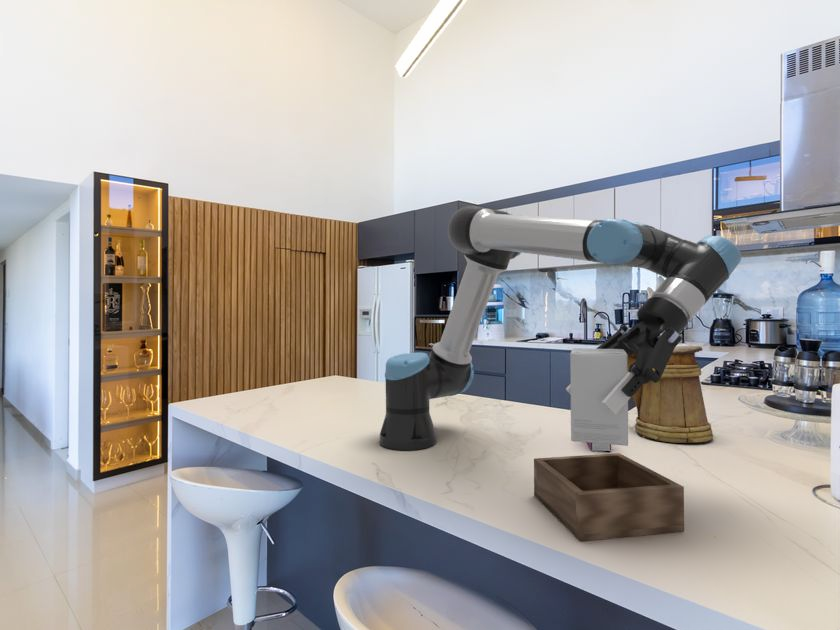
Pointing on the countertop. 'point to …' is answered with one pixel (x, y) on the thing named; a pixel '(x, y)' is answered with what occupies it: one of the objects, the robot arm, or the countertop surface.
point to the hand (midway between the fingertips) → (588, 401)
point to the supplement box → (597, 396)
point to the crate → (608, 496)
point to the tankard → (673, 401)
